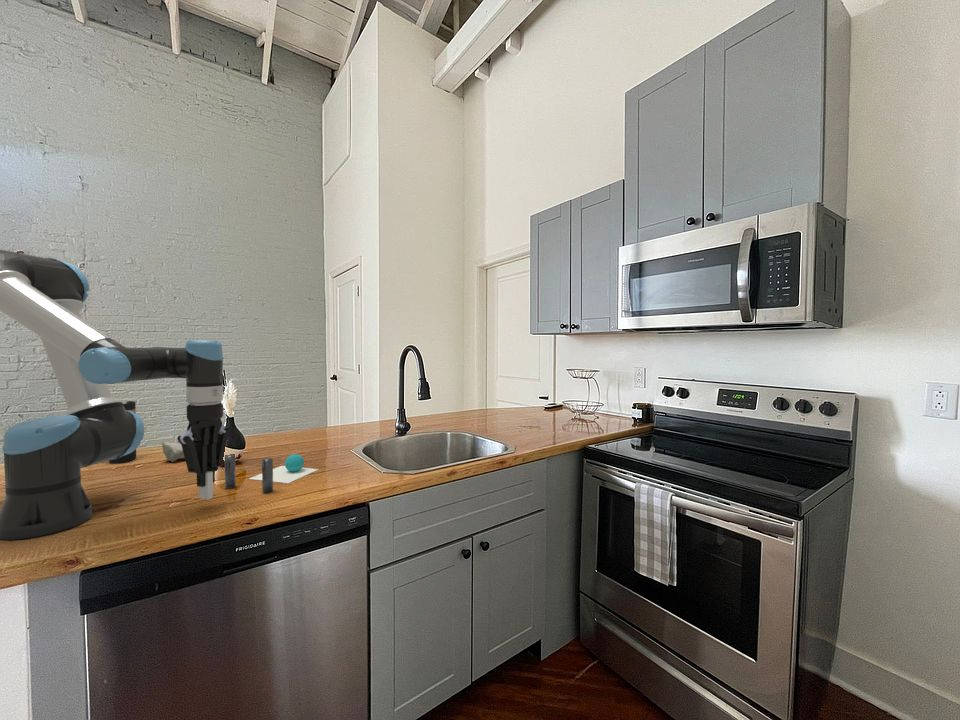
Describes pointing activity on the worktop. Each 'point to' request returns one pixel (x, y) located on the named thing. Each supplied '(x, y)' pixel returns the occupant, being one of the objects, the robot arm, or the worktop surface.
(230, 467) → the gate post left
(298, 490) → the worktop surface
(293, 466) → the ball
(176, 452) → the grey rock
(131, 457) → the travel mug
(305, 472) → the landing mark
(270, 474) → the gate post right
